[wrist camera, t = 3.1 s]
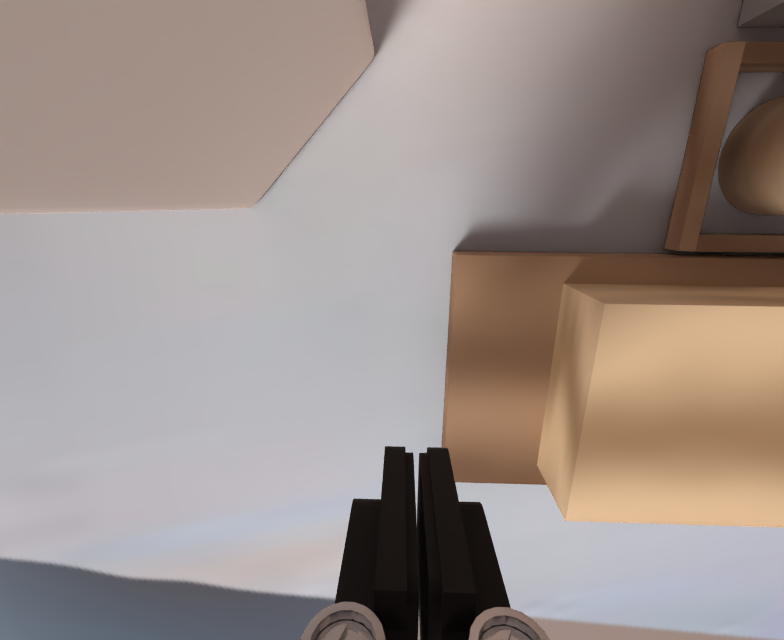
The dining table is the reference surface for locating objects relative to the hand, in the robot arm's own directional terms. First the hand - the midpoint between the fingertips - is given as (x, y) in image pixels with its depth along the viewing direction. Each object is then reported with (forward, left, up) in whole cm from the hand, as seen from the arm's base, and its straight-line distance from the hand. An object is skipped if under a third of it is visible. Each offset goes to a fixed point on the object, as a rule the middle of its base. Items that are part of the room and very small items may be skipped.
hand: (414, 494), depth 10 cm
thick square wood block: (-1, +10, -6) cm, 11 cm away
